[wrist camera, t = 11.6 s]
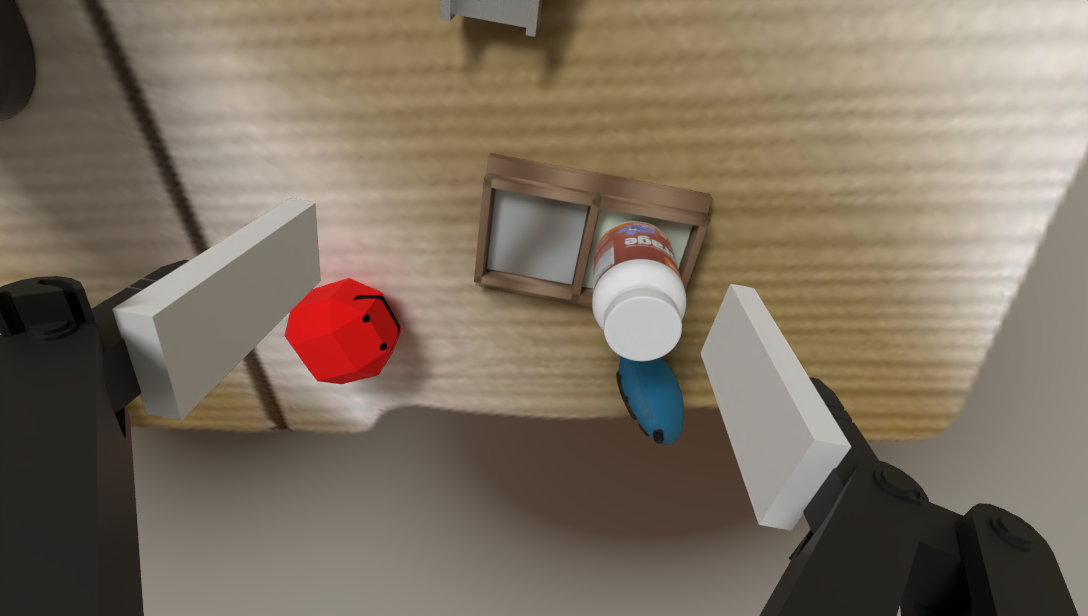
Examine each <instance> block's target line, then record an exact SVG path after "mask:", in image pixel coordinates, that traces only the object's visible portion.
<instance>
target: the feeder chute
mask: <svg viewBox="0 0 1088 616" xmlns="http://www.w3.org/2000/svg"><path fill="white" fill-rule="evenodd" d="M440 1H441V19H442V20H447V21H451V20H452V19H453V18H454V16H455V15H460V16H466V17H471V18H477V19H482V20H487V21H493V22H498V23H504V24H509V25H514V26H520V27H525V28H526V35H528V36H533V37H535V36H536V34H537V32H538V29H539V27H540V19H541V9H542V0H440Z"/></svg>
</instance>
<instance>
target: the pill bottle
mask: <svg viewBox="0 0 1088 616" xmlns="http://www.w3.org/2000/svg"><path fill="white" fill-rule="evenodd" d="M592 306H593V313H594V317H595V319H596V321H597V323H598V325H599V326H600V327H601V329H602V330H603V331H604V334H605V338H606V341H607V343H608V344H609V346H610V347H611V348H612V349H613V351H615V352H616V353H617V354H619V355H620V356H622V357H624V358H627V359H630V360H635V361H649V360H654V359H657V358H660V357H662V356H664V355H665V354H667V353H668V352H670V351H671V350H672V349H673V348H674V347H675V346H676V344H677V343H678V341H679V339H680V336H681V332H682V322H681V321H682V319H683V317H684V314H685V310H686V293H685V289H684V286H683V282H682V279H681V276H680V273H679V269H678V266H677V263H676V260H675V256H674V253H673V250H672V246H671V244H670V242H669V240H668V238H667V236H666V235H665V234H664V233H663V232H662V231H661V230H660V229H659V228H657V227H655V226H654V225H652V224H649V223H646V222H640V221H628V222H623V223H620V224H618V225H616V226H614V227H612V228H610V229H609V230H608V231H607V232H605V233H604V235H603V236H602V237H601V238H600V240H599V241H598V243H597V246H596V248H595V252H594V269H593V296H592Z"/></svg>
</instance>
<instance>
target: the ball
mask: <svg viewBox="0 0 1088 616" xmlns="http://www.w3.org/2000/svg"><path fill="white" fill-rule="evenodd" d="M401 330H402V328H401V326H400V324H399V323H398V321H397V320H396V318H395V316H394V314H393V313H392V311H391V309H390V307H389V306H388V304H387V302H386V300H385V299H384V296H383V294H382V293H381V292H379V291H377V290H375V289H373V288H371V287H369V286H366V285H364V284H362V283H359V282H357V281H355V280H352V279H350V278H347V279H344V280H341V281H338V282H335V283H331V284H328V285H325V286H322V287H318V288H315V289H312V290H311V291H310V292H309V293H308V294H307V295H306V296H305V297H304V298H303V299H302V300H301V301H300V302H299V303H298V304H297V305H296V306H295V307H294V308H293V309H292V310H291V311H290V314H289V319H288V323H287V328H286V332H285V337H286V339H287V340H288V341H289V343H290V344H291V346H292V347H293V349H294V350H295V351H296V353H297V354H298V356H299V357H300V358H301V360H302V361H303V363H304V364H305V365H306V367H307V368H308V370H309V371H310V372H311V374H312V375H313V376H314V377H315V379H316V380H317V381H320V382H328V383H336V384H345V383H349V382H353V381H357V380H361V379H365V378H369V377H373V376H377V375H379V374H380V372H381V370H382V369H383V367H384V366H385V364H386V362H387V361H388V359H389V358H390V356H391V354H392V353H393V351H394V348H395V345H396V343H397V340H398V338H399V335H400V332H401Z"/></svg>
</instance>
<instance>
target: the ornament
mask: <svg viewBox="0 0 1088 616" xmlns="http://www.w3.org/2000/svg"><path fill="white" fill-rule="evenodd" d="M616 376H617V383H618V387H619V390H620V393H621V396H622V399H623V401H624V403H625V405H626V407H627V409H628V411H629V413H630V415H631V417H632V418H633V419H635V420H636V419H637V420H638V421H639V427H640V428H641V430H642V431H643V432H644V434H645V435H646V436H651V437H652V438H653V439H654V441H655V442H657V443H659V444H660V443H661V444H665V445H666V444H673V443H674V442H675V441H676V440H677V439H678V438H679V436H680V434H681V431H682V426H683V420H684V406H683V398H682V393H681V390H680V387H679V384H678V381H677V379H676V377H675V375H674V373H673V371H672V370H671V368H670V367H669V365H668V364H667V363H666V362H665V360H664V359H663V358H662V357H660V358H657V359H654V360H649V361H635V360H630V359H627V358H624V357H622V356H621V358H620V364H619V371H618V372H617V374H616Z"/></svg>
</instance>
